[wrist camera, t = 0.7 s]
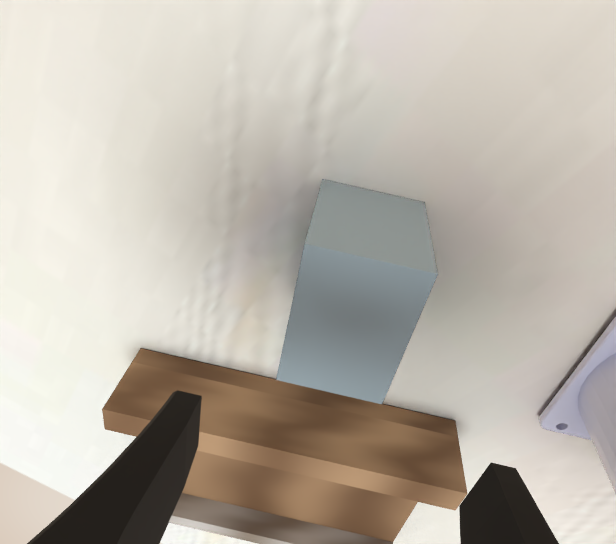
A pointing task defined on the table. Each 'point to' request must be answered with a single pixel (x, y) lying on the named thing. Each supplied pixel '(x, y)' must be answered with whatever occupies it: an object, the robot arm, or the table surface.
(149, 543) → the robot arm
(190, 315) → the table surface
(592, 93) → the table surface
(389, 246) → the gray box
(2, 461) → the table surface
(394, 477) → the wooden shelf
